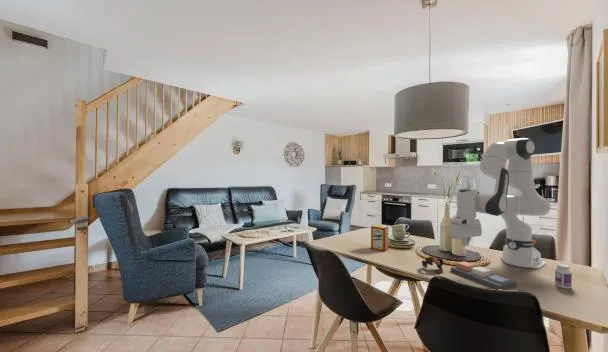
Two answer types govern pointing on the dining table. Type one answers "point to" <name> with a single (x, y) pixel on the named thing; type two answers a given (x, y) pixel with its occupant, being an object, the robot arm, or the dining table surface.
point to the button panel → (483, 279)
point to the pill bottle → (563, 276)
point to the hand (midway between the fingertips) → (465, 245)
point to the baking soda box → (379, 238)
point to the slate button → (498, 279)
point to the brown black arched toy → (436, 261)
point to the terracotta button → (465, 266)
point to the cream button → (481, 271)
